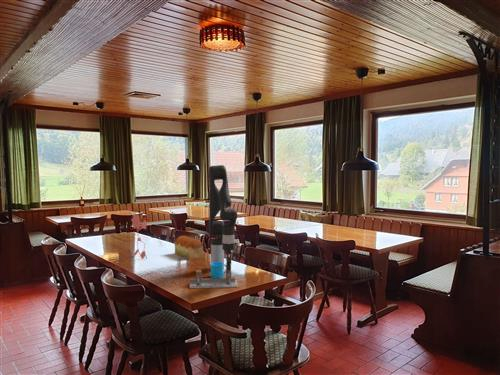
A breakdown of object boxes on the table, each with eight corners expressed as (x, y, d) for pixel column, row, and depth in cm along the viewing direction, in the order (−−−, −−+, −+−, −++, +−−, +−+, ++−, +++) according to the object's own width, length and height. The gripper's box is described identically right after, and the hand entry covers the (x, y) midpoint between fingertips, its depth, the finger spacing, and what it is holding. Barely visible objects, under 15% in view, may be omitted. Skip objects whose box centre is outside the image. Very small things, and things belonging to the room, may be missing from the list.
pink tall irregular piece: (136, 254, 308) (135, 211, 305) (153, 259, 289) (152, 214, 287) (118, 257, 297) (117, 213, 295) (134, 263, 279) (133, 216, 276)
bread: (203, 257, 298) (203, 239, 297) (189, 260, 290) (188, 240, 290) (188, 252, 318) (187, 234, 317) (174, 254, 310) (174, 236, 309)
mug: (215, 278, 240) (215, 266, 240) (208, 275, 247) (208, 263, 246) (230, 275, 247) (230, 263, 247) (223, 272, 254) (223, 260, 254)
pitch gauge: (190, 283, 230) (190, 270, 230) (236, 282, 233) (236, 269, 233) (189, 288, 220) (189, 274, 220) (237, 287, 223) (237, 273, 223)
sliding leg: (225, 278, 232) (225, 262, 232) (230, 278, 233) (230, 262, 232) (226, 282, 225) (226, 265, 224) (231, 282, 225) (231, 265, 224)
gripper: (222, 239, 236) (222, 265, 237) (222, 244, 222) (222, 271, 223) (234, 239, 237) (234, 265, 238) (235, 244, 223) (235, 271, 224)
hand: (228, 268), depth 230 cm, fingers open, 8 cm apart
